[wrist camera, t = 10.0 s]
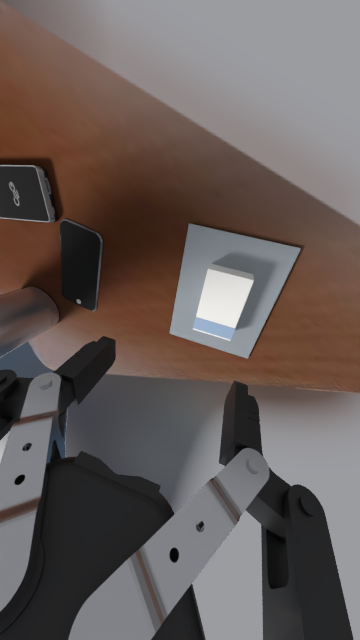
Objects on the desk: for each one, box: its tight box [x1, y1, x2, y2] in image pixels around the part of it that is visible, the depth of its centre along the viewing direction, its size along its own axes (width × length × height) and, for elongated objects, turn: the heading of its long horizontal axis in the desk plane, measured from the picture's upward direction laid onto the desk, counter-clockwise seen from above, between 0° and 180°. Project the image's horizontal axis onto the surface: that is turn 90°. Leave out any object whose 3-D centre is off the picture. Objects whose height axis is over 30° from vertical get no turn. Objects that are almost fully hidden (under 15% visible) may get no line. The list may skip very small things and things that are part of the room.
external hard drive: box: [0, 165, 58, 222], centre depth 30 cm, size 7×11×2 cm, turn 87°
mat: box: [170, 223, 301, 359], centre depth 29 cm, size 14×18×1 cm
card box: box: [193, 264, 254, 341], centre depth 28 cm, size 10×6×3 cm, turn 170°
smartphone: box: [60, 219, 103, 311], centre depth 34 cm, size 8×1×15 cm
